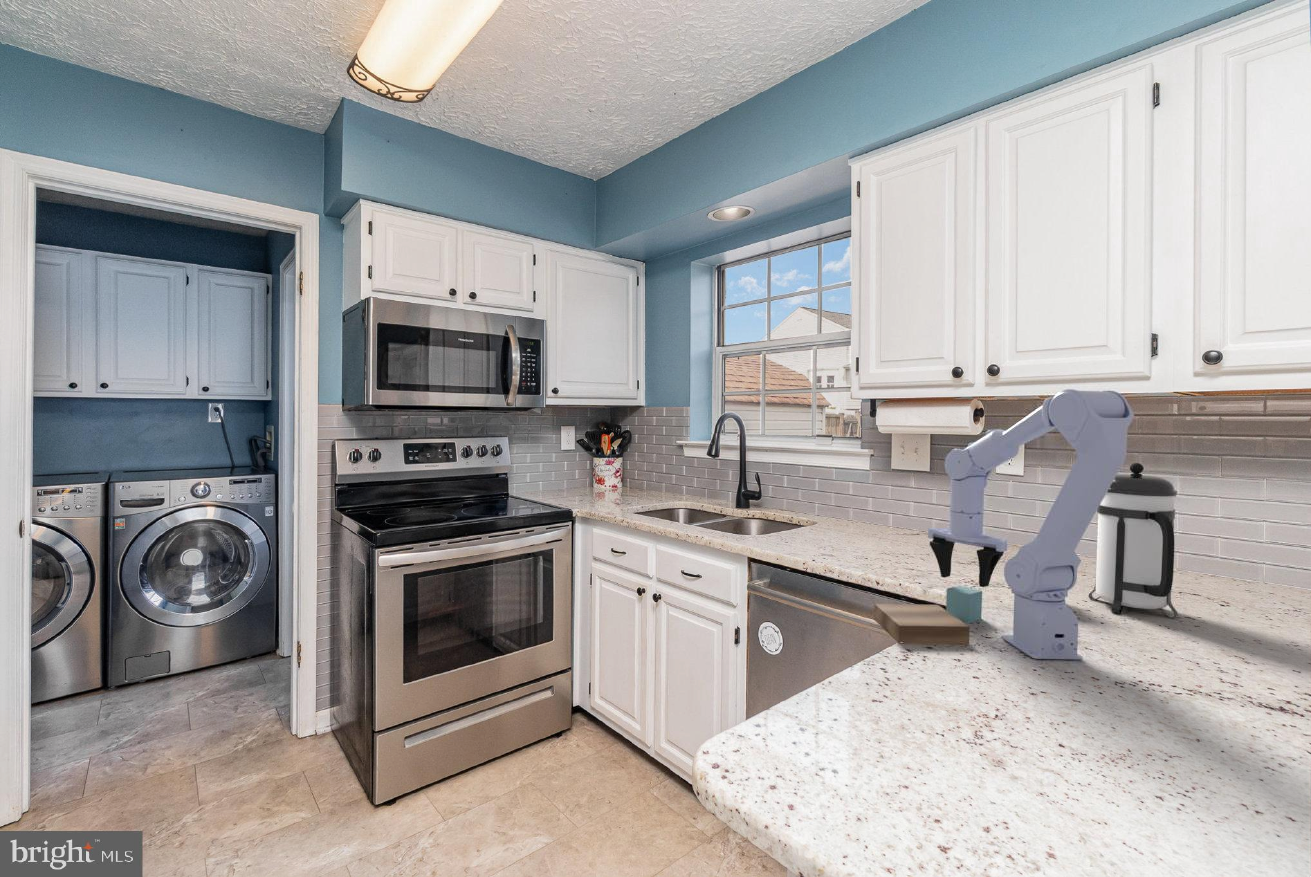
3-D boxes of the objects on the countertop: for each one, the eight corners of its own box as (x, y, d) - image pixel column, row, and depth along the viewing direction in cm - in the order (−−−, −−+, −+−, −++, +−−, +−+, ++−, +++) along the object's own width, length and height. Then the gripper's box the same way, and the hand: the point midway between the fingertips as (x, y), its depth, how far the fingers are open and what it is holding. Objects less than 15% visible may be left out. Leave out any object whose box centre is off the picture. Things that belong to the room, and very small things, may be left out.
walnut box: (968, 646, 103) (969, 626, 103) (898, 645, 103) (899, 625, 103) (937, 622, 115) (937, 604, 115) (874, 621, 115) (874, 603, 115)
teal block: (981, 619, 116) (982, 590, 116) (968, 623, 114) (969, 594, 113) (958, 612, 120) (959, 585, 120) (945, 616, 117) (946, 588, 117)
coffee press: (1068, 603, 126) (1073, 461, 125) (1109, 593, 134) (1114, 459, 133) (1168, 630, 111) (1175, 468, 110) (1209, 617, 118) (1215, 465, 117)
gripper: (1016, 515, 112) (1013, 587, 113) (942, 505, 124) (940, 570, 125) (996, 518, 108) (994, 593, 109) (922, 507, 120) (920, 574, 121)
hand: (964, 581), depth 117 cm, fingers open, 7 cm apart
